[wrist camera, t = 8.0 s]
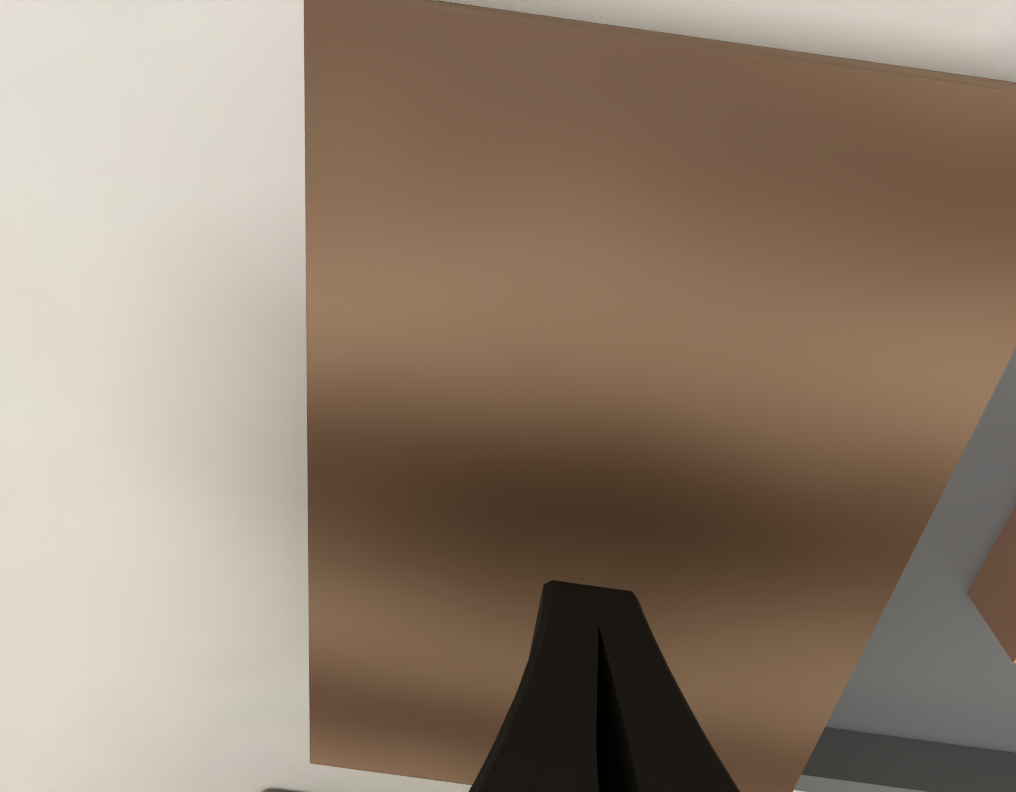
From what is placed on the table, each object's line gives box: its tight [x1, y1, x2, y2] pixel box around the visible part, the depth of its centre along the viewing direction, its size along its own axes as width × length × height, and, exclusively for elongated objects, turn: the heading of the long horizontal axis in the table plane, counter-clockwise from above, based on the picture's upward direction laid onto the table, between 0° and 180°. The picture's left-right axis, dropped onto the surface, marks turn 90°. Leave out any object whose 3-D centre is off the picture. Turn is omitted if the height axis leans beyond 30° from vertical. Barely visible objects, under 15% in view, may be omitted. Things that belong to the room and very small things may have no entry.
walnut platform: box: [304, 0, 1016, 792], centre depth 15 cm, size 16×11×3 cm
